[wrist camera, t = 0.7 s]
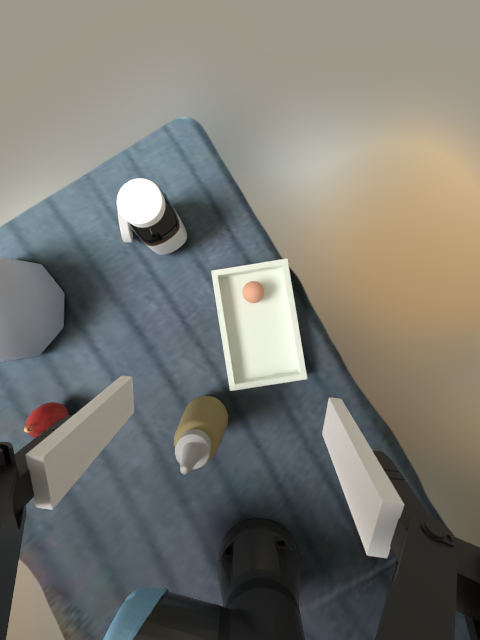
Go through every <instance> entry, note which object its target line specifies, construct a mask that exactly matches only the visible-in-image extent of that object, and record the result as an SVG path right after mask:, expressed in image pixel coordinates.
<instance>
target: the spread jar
mask: <svg viewBox="0 0 480 640" xmlns="http://www.w3.org/2000/svg"><path fill="white" fill-rule="evenodd" d="M117 207H118V218H119V225H120V231H121V235H122V239H123V241H124V242H133V231H134V232H135V233H136V234H137V236H138V237H139V238H140V239H141V240H142V241H143V242H144V243H145V244H146V245H147V246H148V247H149V248H151V249H152V250H153V251H154V252H156V253H157V254H160V255H166V254H169V253H172V252H174V251H175V250H177V249H178V248H180V247H181V246H182V245H183V244H184V243H185V242H186V240H187V233H186V230H185V227H184V225H183V223H182V221H181V219H180V217H179V216H178V214H177V212H176V211H175V209H174V207H173V205H172V204H171V202H170V201H169V199H168V198H167V196H166V195H165V194H164V193H163V191H162V190H161V189H160V188H159V187H158V186H157V185H155V184H154V183H153V182H151V181H150V180H147V179H142V178H138V179H133V180H131V181H128V182H127V183H126V184H124V185H123V186H122V188H121V189H120V191H119V193H118V196H117ZM132 229H133V231H132Z"/></svg>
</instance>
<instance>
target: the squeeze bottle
mask: <svg viewBox="0 0 480 640" xmlns="http://www.w3.org/2000/svg"><path fill="white" fill-rule="evenodd" d="M227 425H228V413H227V410H226V408H225V406H224V405H223V404H222V403H221V401H220V400H219V399H217V398H215V397H213V396H201V397H198V398H195V399H193V400H192V401H191V402H190V403H189V404H188V405H187V407H186V409H185V411H184V414H183V416H182V419H181V421H180V423H179V426H178V428H177V431H176V433H175V436H174V446H175V455H176V458H177V461H178V462H179V463H180V464H181V466H180V471H181V473H182V474H185V475H186V474H188V473H189V472H190V471H191V470H192V469H197V468H200V467H202V466H203V465H204V464H205V463H206V462H208V461H209V460H210V459H211V458H212V457H213V456H215V453H216V451H217V449H218V447H219V445H220V442H221V440H222V437H223V435H224V432H225V430H226V427H227Z"/></svg>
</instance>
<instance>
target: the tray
mask: <svg viewBox="0 0 480 640" xmlns="http://www.w3.org/2000/svg"><path fill="white" fill-rule="evenodd" d="M211 273H212V279H213V285H214V292H215V298H216V304H217V311H218V317H219V323H220V330H221V336H222V343H223V349H224V355H225V362H226V368H227V374H228V381H229V387H230V391H234V390H240V389H247V388H253V387H259V386H266V385H272V384H279V383H285V382H292V381H298V380H304V379H307V374H306V368H305V362H304V356H303V350H302V344H301V338H300V332H299V326H298V320H297V314H296V308H295V302H294V296H293V290H292V284H291V278H290V271H289V265H288V259H281V260H275V261H269V262H263V263H257V264H251V265H244V266H238V267H232V268H226V269H220V270H214V271H211ZM251 281H257V282H259V283H260V284H261V285H262V286H263V287H264V297H263V298H262V300H261V301H259V302H257V303H250V302H248V301H246V300H245V298H244V297H243V288H244V286H245V285H246V284H247V283H248V282H251Z"/></svg>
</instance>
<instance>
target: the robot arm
mask: <svg viewBox="0 0 480 640" xmlns="http://www.w3.org/2000/svg"><path fill="white" fill-rule="evenodd" d="M133 413H134V400H133V381H132V377H129V376H120V377H119V378H118V379H117V380H116V381H114V382H113V383H112V384H111V385H110V386H108V387H107V388H106V389H105V390H103V391H102V392H101V393H100V394H99V395H97V396H96V397H95V398H94V399H93V400H91V401H90V402H89V403H88V404H87V405H85V406H84V407H83V408H82V409H80V410H79V411H78V412H77V413H76V414H74V415H73V416H66V417H64V418H62V419H60V420H58V421H57V422H55V423H54V424H53V425H51V426H50V427H49V428H48V429H47V430H45V431H44V432H43V433H41V434H40V436H37V437H36V438H35V439H34V440H32V441H31V442H30V443H29V444H27V445H26V446H25V447H23V448H22V449H21V450H20V451H18V452H17V453H16V454H15V455H14V450H13V446H12V444H11V443H9V442H0V640H6V635H7V628H8V622H9V616H10V610H11V604H12V598H13V591H14V586H15V579H16V573H17V567H18V560H19V555H20V548H21V542H22V536H23V530H24V524H25V517H26V506H25V505H26V504H27V503H28V502H29V501H30V500H31V499H32V498H33V497H34V500H35V505H36V507H38V508H45V509H51V510H53V509H54V507H55V506H56V505H57V504H58V503H59V501H60V500H61V499H62V498H63V497H64V495H65V494H66V493H67V492H68V491H69V489H70V488H71V487H72V486H73V485H74V483H75V482H76V481H77V480H78V479H79V477H80V476H81V475H82V474H83V473H84V471H85V470H86V469H87V468H88V467H89V466H90V464H91V463H92V462H93V461H94V460H95V458H96V457H97V456H98V455H99V454H100V452H101V451H102V450H103V449H104V448H105V446H106V445H107V444H108V443H109V442H110V440H111V439H112V438H113V437H114V436H115V434H116V433H117V432H118V431H119V430H120V428H121V427H122V426H123V425H124V424H125V422H126V421H127V420H128V419H129V418H130V416H131V415H132V414H133ZM322 434H323V437H324V440H325V443H326V445H327V448H328V451H329V453H330V456H331V459H332V462H333V464H334V467H335V470H336V473H337V475H338V478H339V481H340V483H341V486H342V489H343V492H344V494H345V497H346V500H347V502H348V505H349V508H350V511H351V513H352V516H353V519H354V522H355V524H356V527H357V530H358V532H359V535H360V538H361V541H362V543H363V546H364V549H365V552H366V554H367V556H374V557H381V558H387V557H388V554H389V551H390V548H391V549H392V551H393V553H394V556H395V558H396V560H397V561H396V564H395V567H394V570H393V573H392V576H391V579H390V580H391V582H390V586H389V590H388V594H387V597H386V601H385V605H384V609H383V612H382V616H381V620H380V624H379V627H378V631H377V635H376V639H375V640H454V632H455V611H456V610H457V611H459V612H461V613H463V614H464V615H465V619H466V623H467V627H468V631H469V635H470V639H471V640H480V548H479V547H477V546H475V545H472V544H470V543H467V542H465V541H463V540H460V539H458V538H456V537H454V535H453V534H452V532H451V531H450V530H449V529H448V528H447V527H446V526H445V525H444V524H443V523H442V522H440V521H439V520H438V519H436V518H435V517H433V516H431V515H429V514H428V513H427V512H426V510H425V509H424V507H423V506H422V504H421V503H420V501H419V500H418V498H417V497H416V495H415V494H414V492H413V491H412V489H411V488H410V486H409V485H408V483H407V482H406V481H405V479H404V477H403V476H402V474H401V473H399V470H398V468H397V467H396V466H395V464H394V463H393V461H392V460H391V459H390V458H389V457H388V456H386V455H385V454H384V453H383V452H379V451H372V450H371V448H370V446H369V445H368V443H367V441H366V440H365V438H364V436H363V435H362V433H361V431H360V430H359V428H358V426H357V425H356V423H355V421H354V420H353V418H352V416H351V414H350V413H349V411H348V409H347V408H346V406H345V404H344V403H343V401H342V399H338V398H329V400H328V406H327V411H326V416H325V422H324V427H323V432H322ZM300 578H301V568H300V561H299V557H298V552H297V548H296V545H295V543H294V541H293V539H292V538H291V536H290V535H289V534H288V532H287V531H286V530H285V529H284V528H282V527H281V526H280V525H278V524H276V523H274V522H272V521H269V520H264V519H251V520H247V521H244V522H241V523H239V524H238V525H236V526H235V527H233V528H232V529H231V530H230V531H229V532H228V533H227V535H226V536H225V538H224V539H223V541H222V544H221V546H220V550H219V557H218V580H219V585H220V590H221V596H222V601H223V606H224V607H222V606H219V605H216V604H212V603H208V602H204V601H200V600H197V599H193V598H190V597H186V596H183V595H179V594H176V593H172V592H169V591H168V589H167V588H164V589H163V590H162V589H157V588H151V587H146V586H141V587H138V588H136V589H135V590H134V591H133V592H132V593H130V595H129V596H128V597H127V598H126V600H125V601H124V603H123V604H122V606H121V608H120V609H119V611H118V613H117V614H116V616H115V618H114V620H113V622H112V624H111V625H110V627H109V629H108V631H107V633H106V635H105V637H104V639H103V640H305V636H304V631H303V626H302V621H301V617H300V611H299V593H300Z"/></svg>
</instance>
